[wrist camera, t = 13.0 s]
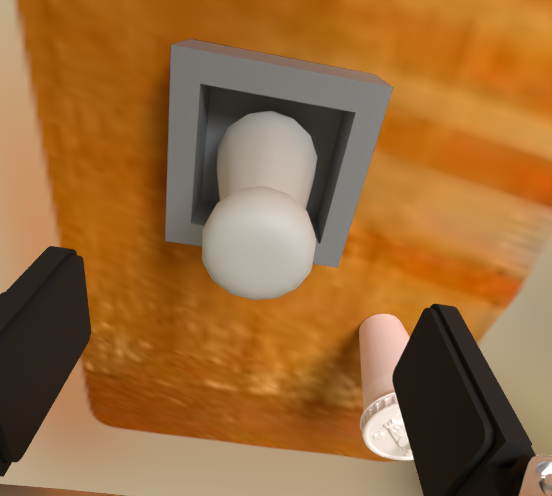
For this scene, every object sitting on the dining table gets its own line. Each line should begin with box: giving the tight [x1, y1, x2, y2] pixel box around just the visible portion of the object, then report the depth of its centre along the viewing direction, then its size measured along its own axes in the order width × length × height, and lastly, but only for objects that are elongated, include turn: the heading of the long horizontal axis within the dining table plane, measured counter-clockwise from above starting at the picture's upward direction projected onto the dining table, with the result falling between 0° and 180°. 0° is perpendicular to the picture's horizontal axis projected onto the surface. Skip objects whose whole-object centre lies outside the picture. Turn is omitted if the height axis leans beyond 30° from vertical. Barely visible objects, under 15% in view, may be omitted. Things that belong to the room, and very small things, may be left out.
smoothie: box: [359, 314, 414, 460], centre depth 28 cm, size 6×6×14 cm
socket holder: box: [165, 39, 393, 268], centre depth 24 cm, size 11×11×4 cm
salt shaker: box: [202, 110, 317, 300], centre depth 19 cm, size 6×6×13 cm
